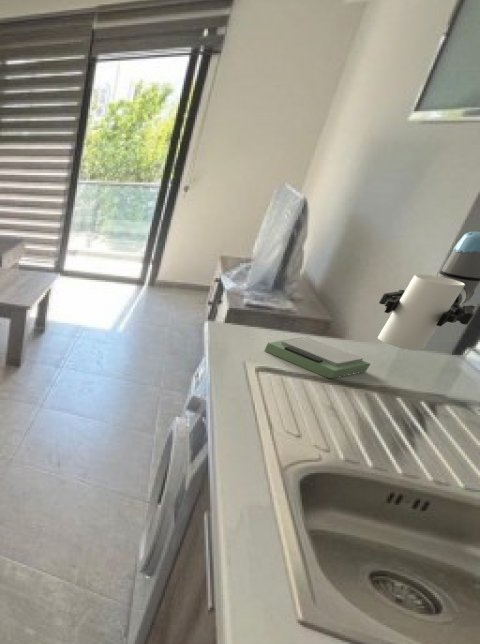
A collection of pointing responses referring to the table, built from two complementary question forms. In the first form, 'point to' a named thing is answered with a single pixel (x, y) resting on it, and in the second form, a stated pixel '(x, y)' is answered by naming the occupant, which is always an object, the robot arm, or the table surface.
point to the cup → (420, 311)
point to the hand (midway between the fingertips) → (414, 313)
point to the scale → (317, 357)
